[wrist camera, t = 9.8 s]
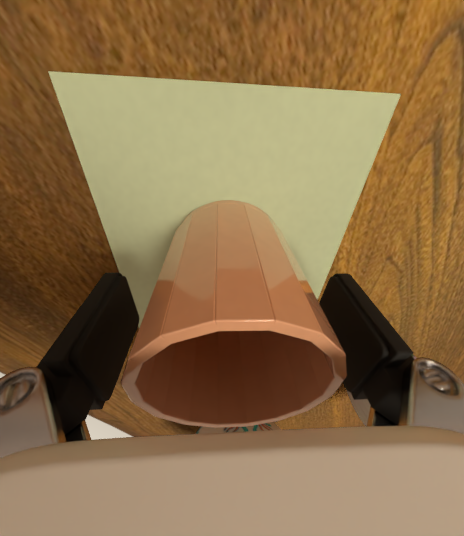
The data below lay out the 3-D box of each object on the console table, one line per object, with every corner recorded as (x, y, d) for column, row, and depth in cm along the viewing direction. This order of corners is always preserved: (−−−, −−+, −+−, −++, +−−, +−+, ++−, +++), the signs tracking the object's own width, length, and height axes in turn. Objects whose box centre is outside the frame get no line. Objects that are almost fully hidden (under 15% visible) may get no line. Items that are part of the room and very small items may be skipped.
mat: (51, 71, 8) (47, 70, 8) (397, 94, 9) (401, 93, 9) (141, 331, 17) (140, 333, 17) (303, 329, 18) (304, 331, 18)
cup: (164, 197, 11) (84, 322, 4) (293, 201, 11) (391, 319, 5) (178, 293, 15) (147, 431, 8) (272, 293, 15) (311, 424, 9)
